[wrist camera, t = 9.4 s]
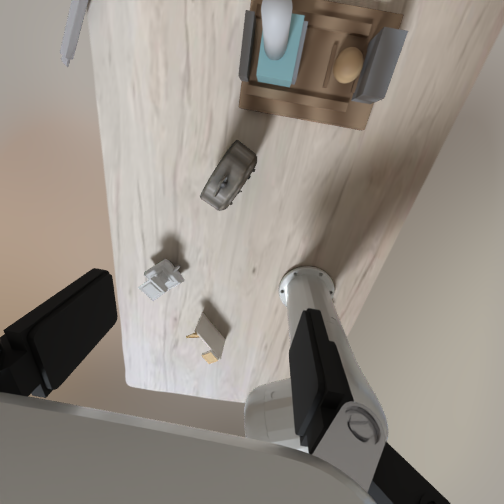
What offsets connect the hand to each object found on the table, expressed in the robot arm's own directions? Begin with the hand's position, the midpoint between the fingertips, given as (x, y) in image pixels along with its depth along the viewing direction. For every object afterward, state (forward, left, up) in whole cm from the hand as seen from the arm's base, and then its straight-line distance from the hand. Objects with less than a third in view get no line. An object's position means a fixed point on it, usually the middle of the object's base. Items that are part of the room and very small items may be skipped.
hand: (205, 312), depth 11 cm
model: (-25, +30, -37) cm, 54 cm away
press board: (+11, -17, -36) cm, 42 cm away
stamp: (-6, +28, -37) cm, 46 cm away
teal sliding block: (+14, -13, -34) cm, 39 cm away
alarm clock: (+4, +2, -36) cm, 37 cm away
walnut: (+8, -21, -33) cm, 39 cm away
